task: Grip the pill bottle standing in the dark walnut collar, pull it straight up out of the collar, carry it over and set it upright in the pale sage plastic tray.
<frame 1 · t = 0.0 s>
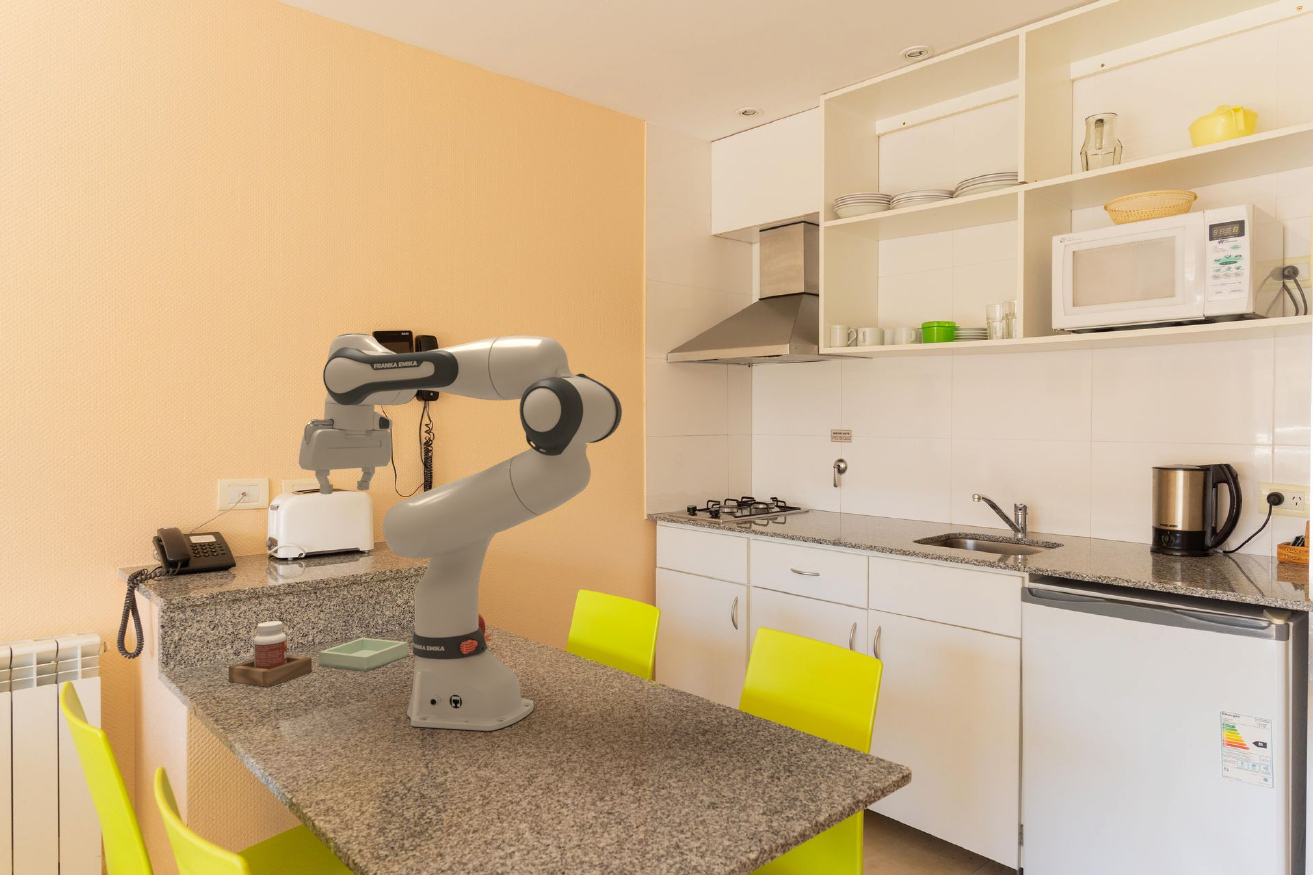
hand: (345, 492, 154), 39 cm above the counter, tool pointing down, fingers open, 8 cm apart
collar: (271, 676, 167), on the counter
pill bottle: (271, 677, 167), resting in collar
tray: (364, 660, 178), on the counter
apple: (465, 654, 182), on the counter
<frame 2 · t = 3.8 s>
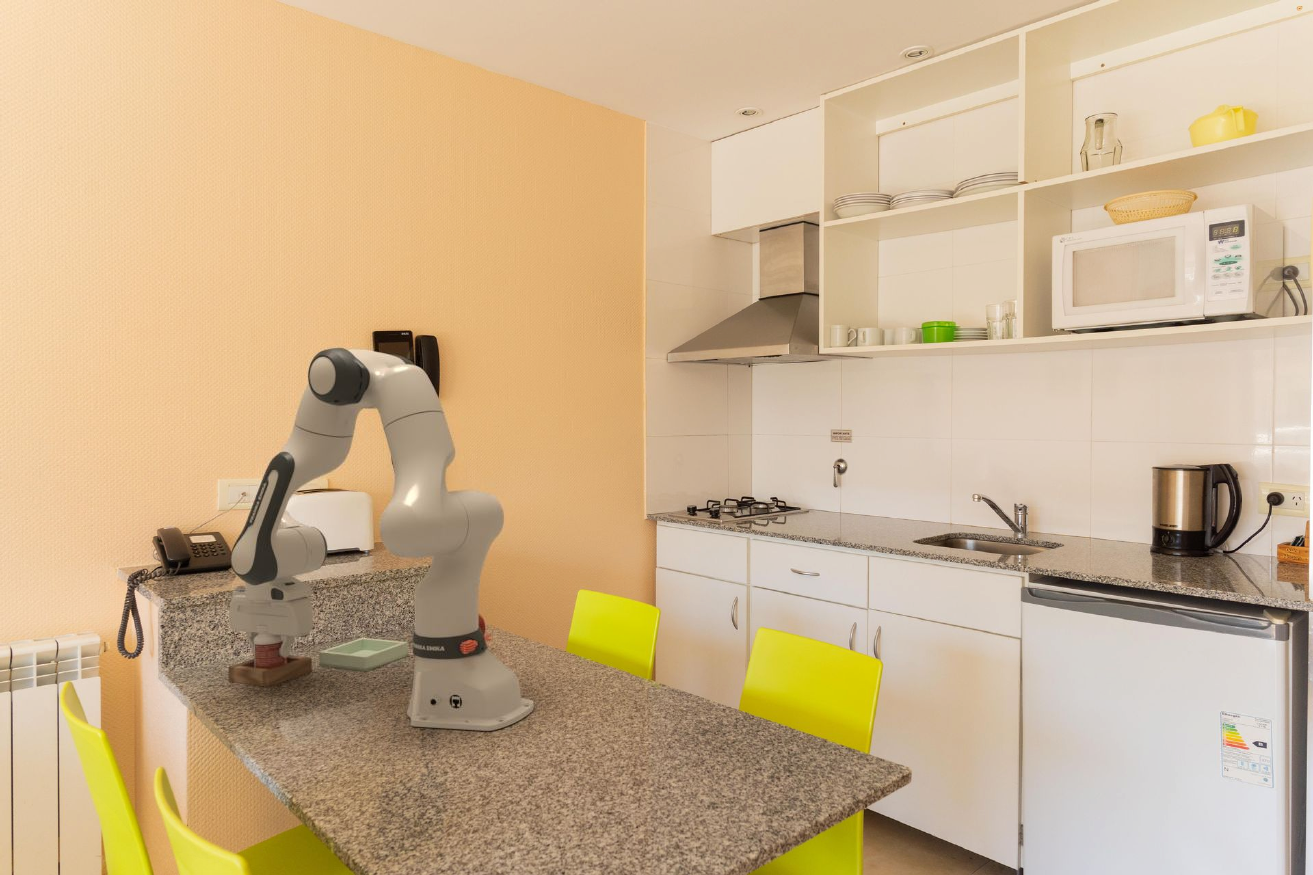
hand: (270, 654, 167), 5 cm above the counter, tool pointing down, fingers closed on pill bottle, 6 cm apart
pill bottle: (271, 677, 167), resting in collar, touching gripper
everything else where it was.
when the fingers open (7 cm above the counter, at t = 10.9 s): pill bottle drops 1 cm, resting on tray.
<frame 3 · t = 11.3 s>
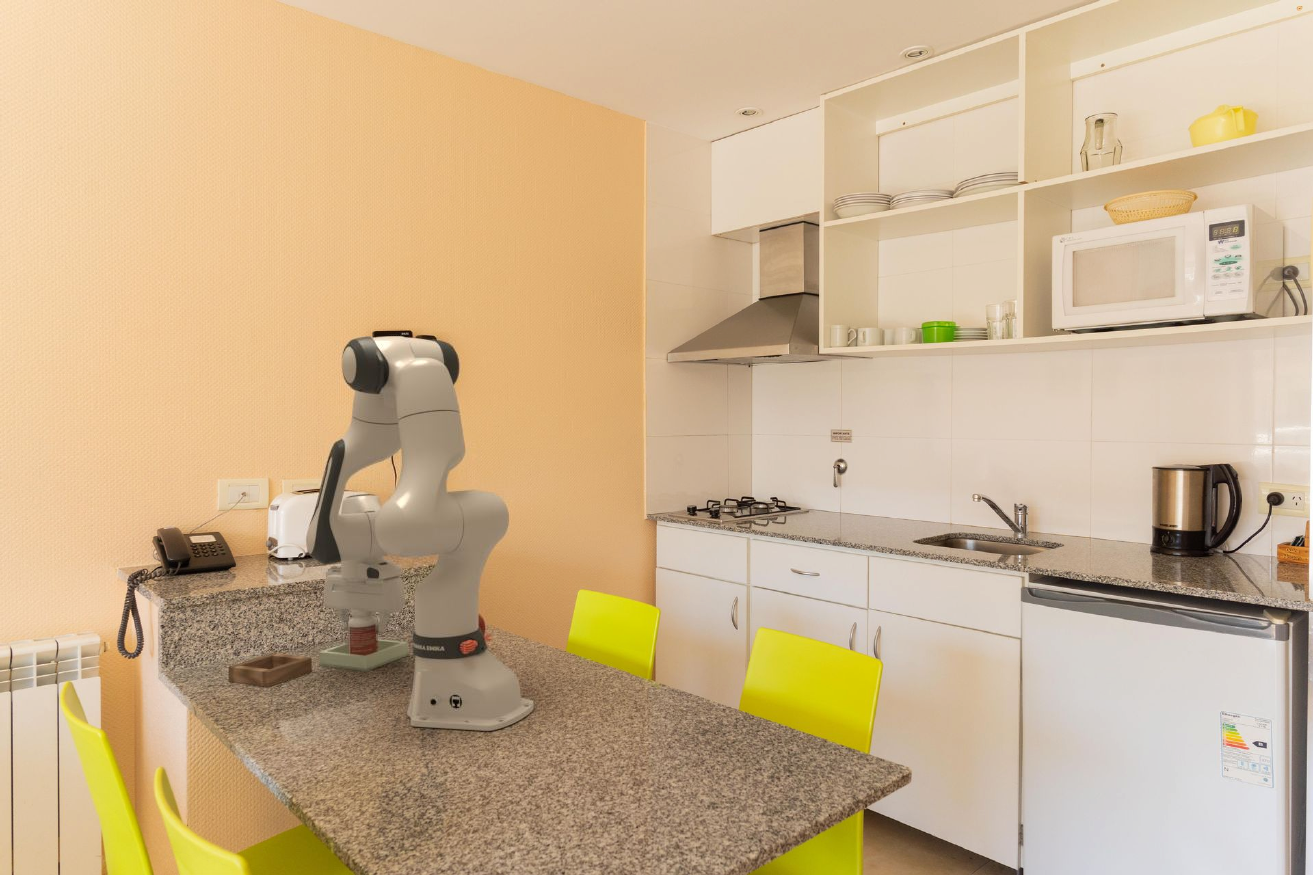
hand: (363, 630, 178), 7 cm above the counter, tool pointing down, fingers open, 8 cm apart
pill bottle: (363, 658, 178), resting on tray
everything else where it was.
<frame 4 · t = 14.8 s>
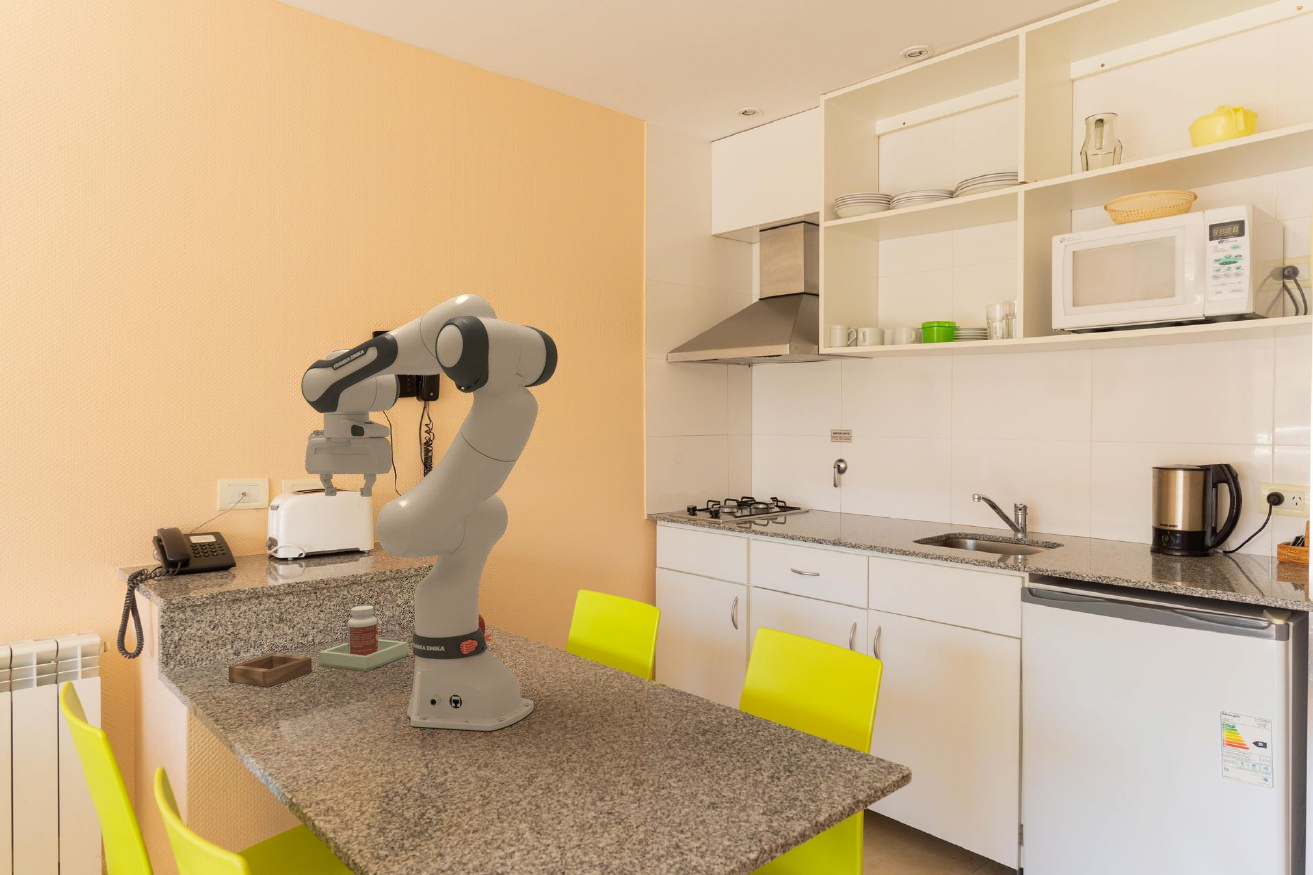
hand: (348, 496, 167), 37 cm above the counter, tool pointing down, fingers open, 8 cm apart
nothing on the counter moved.
at the end: pill bottle inside the target area on the tray (0.3 cm from its centre), point 0.4 cm above the tray's base; pill bottle tilted 0°; the gripper is holding nothing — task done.
